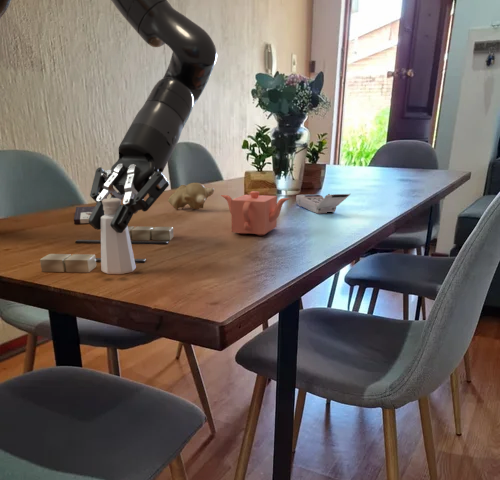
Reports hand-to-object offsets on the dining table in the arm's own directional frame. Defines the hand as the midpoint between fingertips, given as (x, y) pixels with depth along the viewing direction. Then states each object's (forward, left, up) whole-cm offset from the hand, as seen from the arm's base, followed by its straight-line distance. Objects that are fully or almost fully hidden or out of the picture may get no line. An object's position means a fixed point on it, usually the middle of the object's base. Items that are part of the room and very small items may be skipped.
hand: (104, 227), depth 76 cm
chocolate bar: (-19, +48, -7) cm, 52 cm away
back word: (-4, +23, -7) cm, 25 cm away
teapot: (+21, +32, -7) cm, 39 cm away
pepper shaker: (+1, +2, -7) cm, 7 cm away
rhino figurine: (+3, +59, -7) cm, 59 cm away
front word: (-4, +4, -7) cm, 9 cm away
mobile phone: (+36, +60, -7) cm, 70 cm away
